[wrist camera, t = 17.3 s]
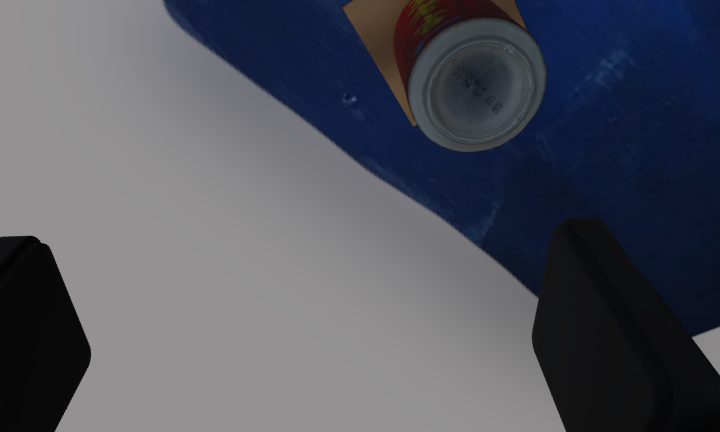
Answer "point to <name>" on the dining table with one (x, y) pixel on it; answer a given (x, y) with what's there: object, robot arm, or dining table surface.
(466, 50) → the soda can
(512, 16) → the cork mat
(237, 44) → the dining table surface
